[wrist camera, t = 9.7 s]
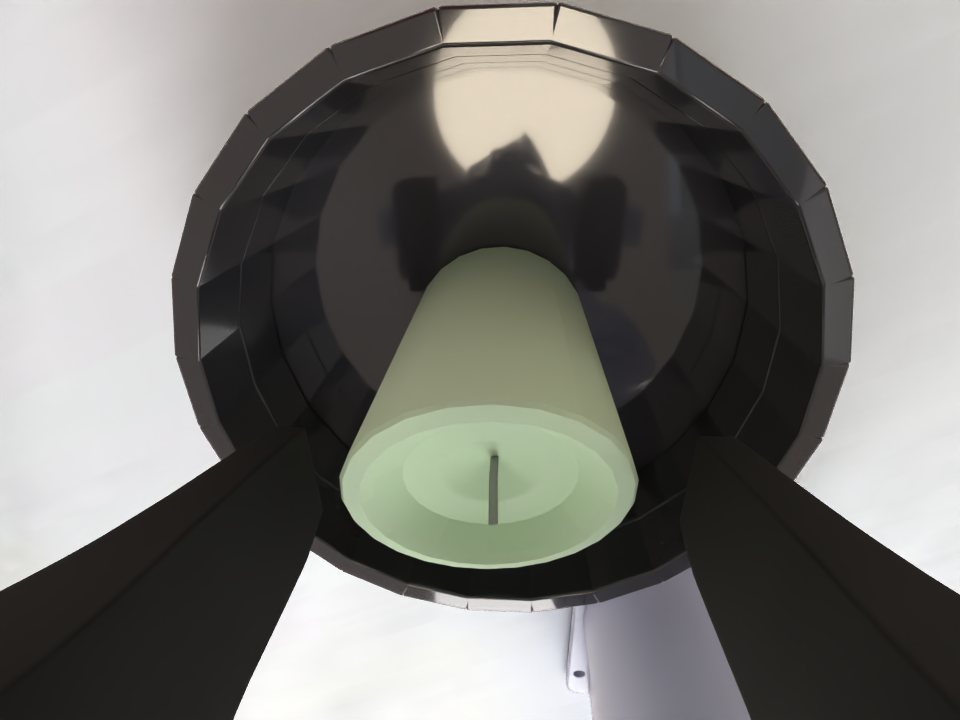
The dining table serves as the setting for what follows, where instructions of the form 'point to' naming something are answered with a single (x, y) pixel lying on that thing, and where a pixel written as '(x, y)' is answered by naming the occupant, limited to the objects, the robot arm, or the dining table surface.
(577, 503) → the candle
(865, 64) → the dining table surface
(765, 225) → the pan
